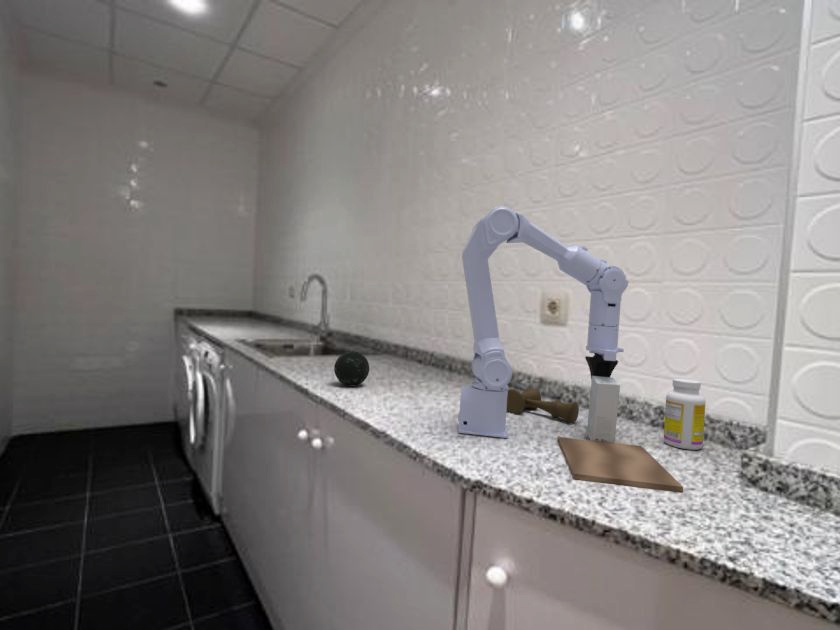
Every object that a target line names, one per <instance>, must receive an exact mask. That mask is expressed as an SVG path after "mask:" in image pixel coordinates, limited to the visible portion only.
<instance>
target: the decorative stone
mask: <svg viewBox="0 0 840 630" xmlns="http://www.w3.org/2000/svg"><path fill="white" fill-rule="evenodd" d="M333 368H334V369H333V370H334V371H333V372H334V375H335V377H336V379H337V380H338V382H339V383H341V384H343V385H345V386H348V385H356V386H359V385H360V384H362V383H363V382H365V381H366V379H367V378H368V376H369V373H370V363H369V360H368V359H367V357H366V356H365V355H364V354H362V353H361V352H359V351H355V350H351V351H350V350H349V351H346V352H343V353H342V354H340V355H339V356H338V358H337V359H336V360H335V363H334V366H333Z"/></svg>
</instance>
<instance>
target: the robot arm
mask: <svg viewBox="0 0 840 630" xmlns="http://www.w3.org/2000/svg"><path fill="white" fill-rule="evenodd" d="M504 242H505V243H506V244H517V243H520V244H521V243H522V244H523V243H524V244H526V245H527V246H530V247H531V248H533V249H534V250H537V251H539V252H541V253H542V254H544V255H546V256H548V257H550V258H551V259H553V260H555V261H556V262H557V264H558V268H559V270H560V271H561V272H563V273H565V274H567V276H569V277H571V278H573V279H574V280H576V281H578V282H579V283H581V284H583V285H584V286H586V287H585V288H586V289H587V290H588V292H589V293H590V298H589V299H590V300H589V301H590V302H589V313H588V315H589V316H588V329H587V341H586V342H587V345H586V347H585V350H586V351H589V352H588V353H589V354H593V355H592V356H587V355H586V356H585V357H584V358H585V361H586V362H587V365H588V369H589V373H590V374H589V375H590V379H591V380H590V381H592V376H600V377H611V376H612V373H613V372H614V370H615V368H616V367H617V366H618V363H619V360H617V354H618V353H624V348H620V347H619V346H618V345H619V343H618V342H619V332H620V330H619V328H620V319H621V318H620V316H621V304H622V303H621V302H622V296H623V293H624V292H625V291H626V289H627V288H628V286H629V282H630V281H629V280H628V279H627V276H626V274H625V272H624V271H623V269H621V268H620V267H618V266H616V265H615V266H614V265H611V266H609V265H608V264H607V263H608V261H607V260H606V259H604V258H603V259H599V258H598V257H597V256H594V255H593V254H592V253H590V252H588V250H589V248H588V247H586V246H584V245H582V246H581V245H580V246H578V245H572V246H566V245H565V244H563V243H562V242H560V240H558V239H557V238H555V237H553V236H552V235H551V234H549V233H548V232H546V231H545V230H543V229H542V228H540V227H539V226H537V225H536V224H534V223H533V222H532V221H531V220H529V219H528V218H527V217H525V216H524V215H523V214H521V213H519V212H515V211H514V210H513V209H512V208H510V207H507V206H504V205H503V206H502V205H499V206H496V207H494V208H492V209H491V210H490V211H489V212H488V213H487V214H485V216H484V217H482V218H481V219H480V220H479V221H478V222H477V223H476V224H475V225H474V226H473V227H472V229H471V232H470V235H469V237H468V238H467V241H466V244H465V246H464V248H463V250H462V252H461V258H462V259H461V261H462V265H463V266H462V267H463V271H464V272H463V273H464V279H465V287H466V293H467V294H466V295H467V299H468V307H469V313H470V319H471V326H472V327H471V328H472V333H473V341H474V343H473V347H472V351H473V359H472V362H471V368H470V369H471V371H472V374H473V376H474V379H473V380H472V382H471V384H470V385H462V386H461V390H460V398H459V399H460V401H459V412H458V417H457V419H458V421H457V422H458V429H457V432H458V433H459V434H464V435H465V434H467V435H473V436H474V435H475V436H476V435H477V436H483V437H484V436H485V437H491V438H492V437H495V438H504V439H507V438H508V437H509V435H508V425H507V395H508V390H509V385H508V384H509V383H510V381H511V379H512V378H513V368H512V366H511V364H510V362H509V361H508V359H507V357H506V354H505V349H504V347H503V344H502V342H501V339H500V334H499V327H498V322H497V321H498V319H497V314H496V308H495V307H496V306H495V300H494V299H495V298H494V294H493V287H492V279H491V273H490V267H489V265H490V264H489V258H491V256H492V255H493V254H494V252H495V251H496V250H497V249H498V247H499V246H500V245H502V244H503V243H504Z"/></svg>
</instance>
